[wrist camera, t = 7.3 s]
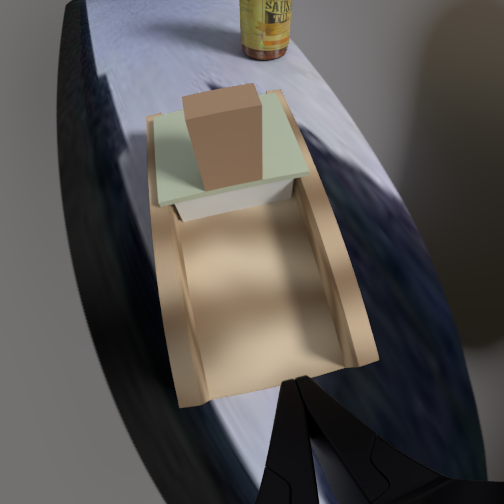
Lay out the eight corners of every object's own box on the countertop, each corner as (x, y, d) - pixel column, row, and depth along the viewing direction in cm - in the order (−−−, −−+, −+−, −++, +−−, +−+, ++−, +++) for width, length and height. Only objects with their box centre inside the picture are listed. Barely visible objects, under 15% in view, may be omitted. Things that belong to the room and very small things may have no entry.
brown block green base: (308, 175, 22) (323, 97, 15) (160, 207, 22) (122, 137, 14) (275, 97, 25) (277, 26, 18) (155, 122, 25) (130, 54, 18)
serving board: (368, 359, 21) (388, 356, 18) (185, 402, 21) (168, 409, 17) (285, 118, 30) (288, 88, 26) (151, 146, 29) (139, 118, 25)
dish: (290, 199, 26) (294, 177, 23) (183, 222, 25) (173, 202, 22) (264, 123, 29) (264, 99, 26) (173, 142, 28) (166, 119, 25)
